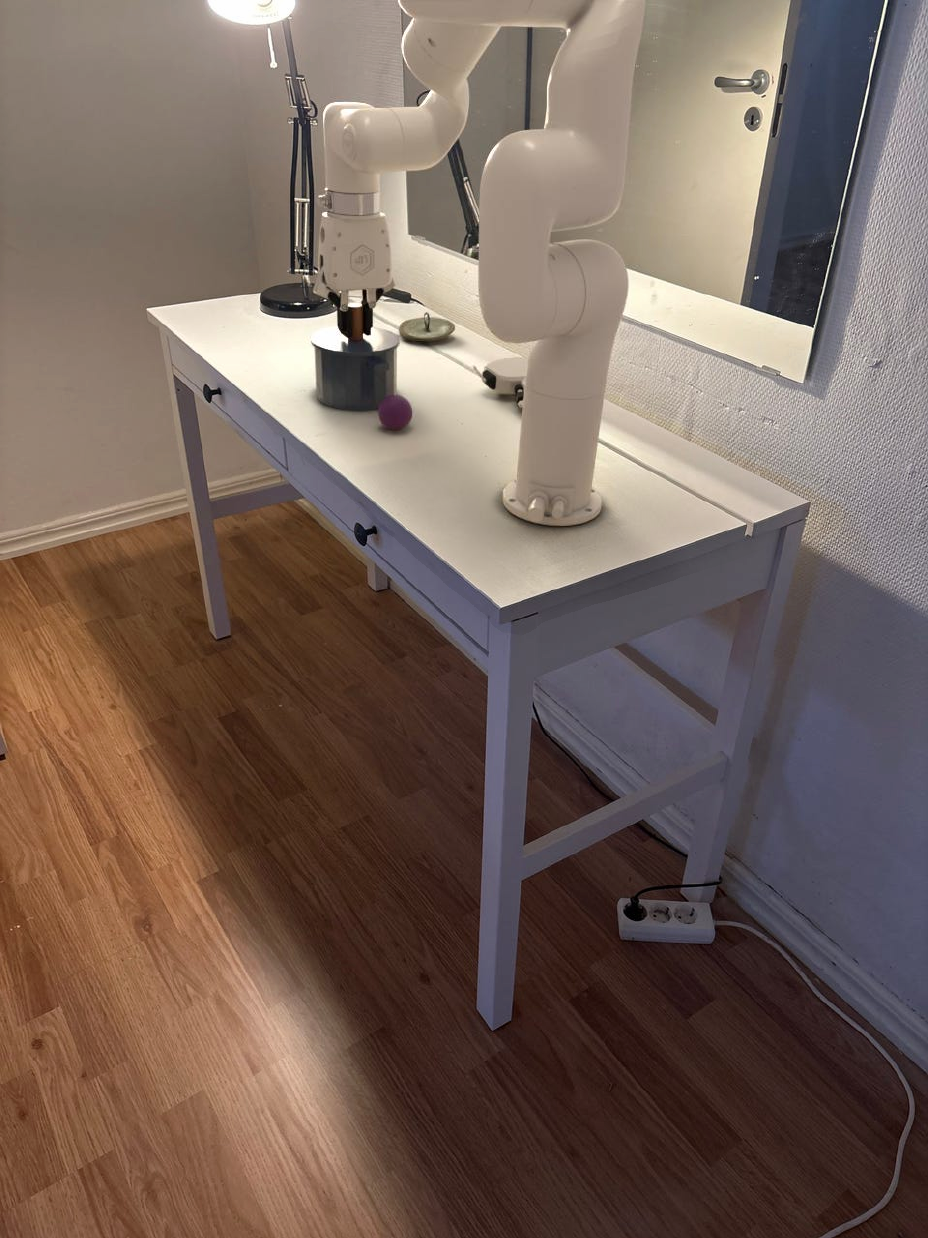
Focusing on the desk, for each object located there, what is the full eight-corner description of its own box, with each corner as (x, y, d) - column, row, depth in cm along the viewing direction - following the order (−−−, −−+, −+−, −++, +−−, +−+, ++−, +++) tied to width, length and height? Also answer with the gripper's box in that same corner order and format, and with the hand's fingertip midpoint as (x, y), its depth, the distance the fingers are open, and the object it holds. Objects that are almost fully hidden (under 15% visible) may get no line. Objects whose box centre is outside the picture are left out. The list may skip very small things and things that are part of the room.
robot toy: (582, 413, 146) (531, 376, 156) (587, 386, 143) (534, 350, 153) (517, 425, 140) (468, 386, 150) (521, 397, 138) (470, 359, 148)
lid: (458, 340, 176) (459, 313, 174) (449, 342, 166) (450, 313, 165) (404, 337, 177) (405, 310, 175) (392, 339, 168) (393, 310, 166)
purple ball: (407, 437, 133) (408, 403, 130) (374, 433, 133) (373, 399, 131) (415, 424, 137) (416, 391, 134) (382, 420, 138) (382, 387, 135)
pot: (345, 421, 136) (343, 365, 132) (297, 383, 149) (294, 330, 144) (418, 408, 142) (419, 354, 137) (366, 372, 154) (366, 321, 150)
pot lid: (334, 365, 133) (332, 322, 130) (297, 338, 143) (295, 297, 139) (415, 353, 139) (415, 311, 136) (374, 328, 149) (374, 289, 145)
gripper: (309, 211, 124) (314, 347, 134) (416, 205, 130) (414, 335, 141) (289, 200, 129) (296, 332, 139) (393, 195, 136) (392, 321, 146)
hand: (355, 333), depth 140 cm, fingers closed on pot lid, 2 cm apart
